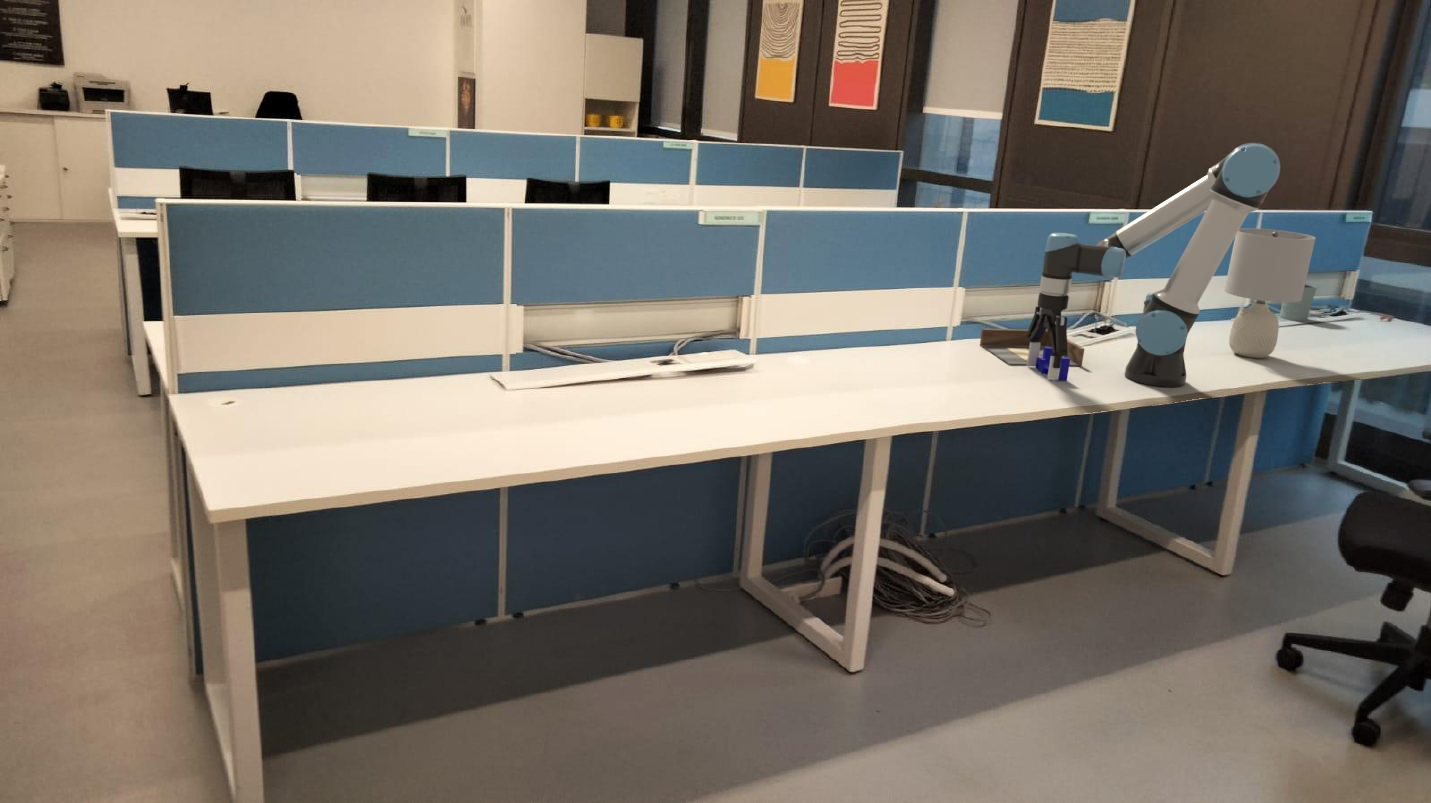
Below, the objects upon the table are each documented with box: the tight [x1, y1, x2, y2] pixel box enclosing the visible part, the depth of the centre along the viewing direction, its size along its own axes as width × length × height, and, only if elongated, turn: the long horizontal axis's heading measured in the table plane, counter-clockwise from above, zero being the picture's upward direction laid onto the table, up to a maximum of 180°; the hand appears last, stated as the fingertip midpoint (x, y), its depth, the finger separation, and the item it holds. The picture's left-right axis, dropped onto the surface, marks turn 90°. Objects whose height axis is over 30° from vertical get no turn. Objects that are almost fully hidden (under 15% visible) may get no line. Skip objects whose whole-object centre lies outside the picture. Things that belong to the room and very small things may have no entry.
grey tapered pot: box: [1279, 283, 1318, 322], centre depth 365 cm, size 10×10×12 cm
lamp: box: [1224, 227, 1316, 359], centre depth 305 cm, size 20×20×37 cm
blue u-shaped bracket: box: [1034, 347, 1070, 382], centre depth 277 cm, size 12×4×6 cm, turn 1°
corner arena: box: [979, 328, 1085, 367], centre depth 296 cm, size 21×21×5 cm
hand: (1042, 372), depth 278 cm, fingers closed on blue u-shaped bracket, 12 cm apart
